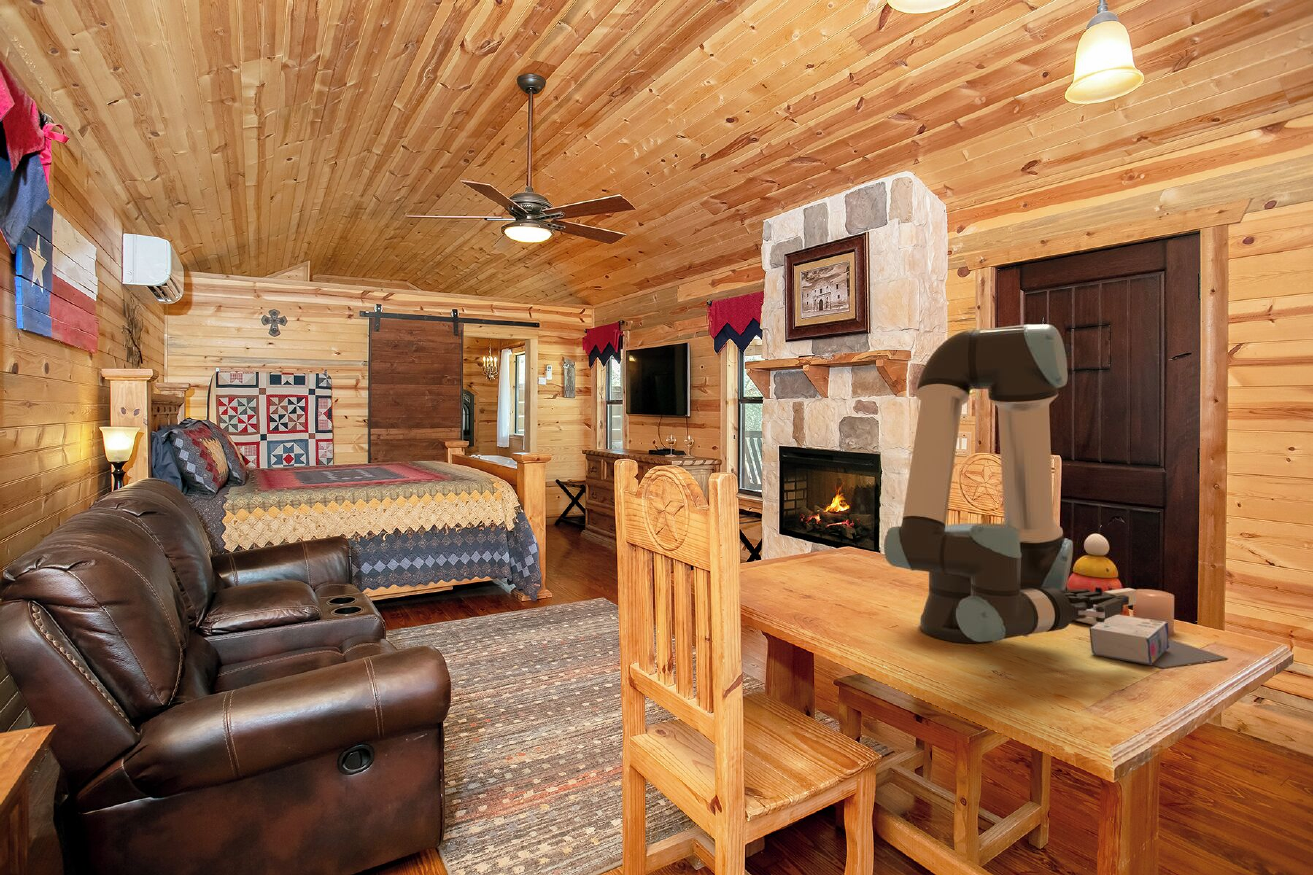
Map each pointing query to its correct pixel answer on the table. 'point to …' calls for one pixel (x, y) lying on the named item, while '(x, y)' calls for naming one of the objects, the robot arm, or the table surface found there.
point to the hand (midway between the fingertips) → (1132, 595)
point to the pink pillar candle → (1155, 607)
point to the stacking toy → (1095, 572)
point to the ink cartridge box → (1130, 639)
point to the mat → (1184, 656)
